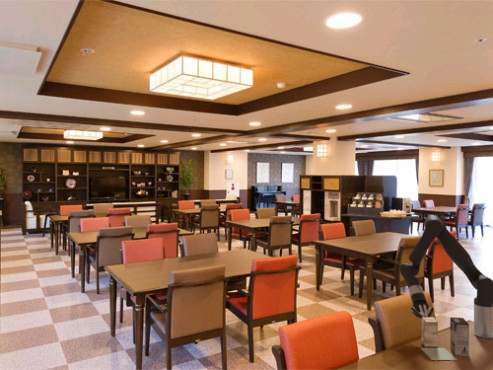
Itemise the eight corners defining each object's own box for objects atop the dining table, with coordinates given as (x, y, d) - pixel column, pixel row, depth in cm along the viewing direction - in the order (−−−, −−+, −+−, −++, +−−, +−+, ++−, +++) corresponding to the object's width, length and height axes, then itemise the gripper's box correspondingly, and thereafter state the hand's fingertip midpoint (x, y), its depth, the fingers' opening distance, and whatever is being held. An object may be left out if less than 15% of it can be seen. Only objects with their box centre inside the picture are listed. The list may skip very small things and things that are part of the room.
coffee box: (449, 347, 197) (449, 316, 196) (463, 348, 195) (463, 317, 195) (455, 355, 188) (455, 323, 187) (469, 356, 186) (469, 324, 186)
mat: (420, 348, 196) (420, 347, 196) (444, 348, 195) (444, 347, 195) (432, 360, 183) (432, 359, 183) (457, 360, 182) (457, 359, 182)
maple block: (421, 342, 202) (421, 317, 201) (432, 342, 201) (433, 317, 200) (425, 347, 197) (426, 321, 196) (437, 347, 196) (437, 321, 195)
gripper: (407, 292, 211) (416, 322, 199) (431, 292, 210) (441, 322, 198) (403, 298, 216) (412, 328, 204) (427, 298, 216) (437, 328, 204)
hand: (426, 325), depth 201 cm, fingers closed
